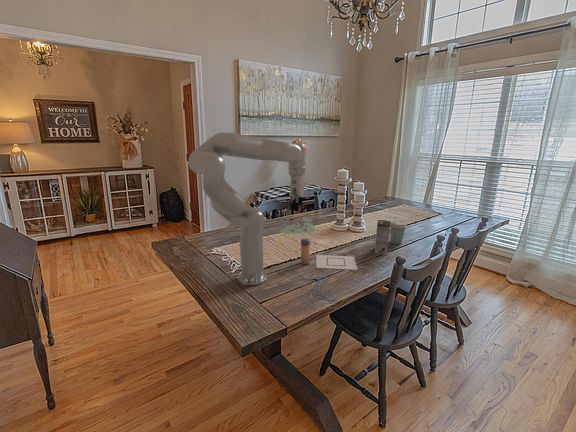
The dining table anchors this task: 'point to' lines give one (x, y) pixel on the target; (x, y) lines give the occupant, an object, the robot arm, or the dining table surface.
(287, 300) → the dining table surface
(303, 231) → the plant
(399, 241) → the coffee cup
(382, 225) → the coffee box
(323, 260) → the paper sheet
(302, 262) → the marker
